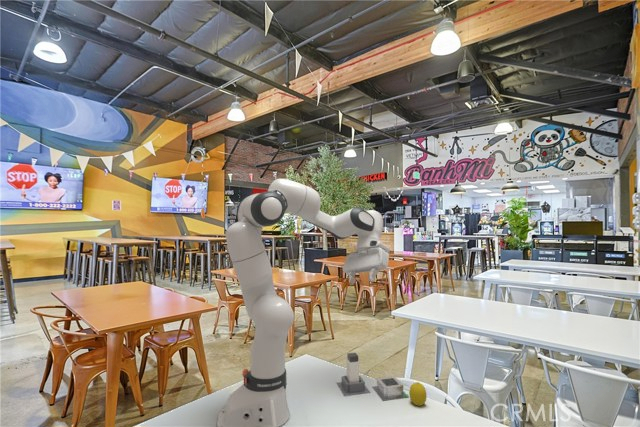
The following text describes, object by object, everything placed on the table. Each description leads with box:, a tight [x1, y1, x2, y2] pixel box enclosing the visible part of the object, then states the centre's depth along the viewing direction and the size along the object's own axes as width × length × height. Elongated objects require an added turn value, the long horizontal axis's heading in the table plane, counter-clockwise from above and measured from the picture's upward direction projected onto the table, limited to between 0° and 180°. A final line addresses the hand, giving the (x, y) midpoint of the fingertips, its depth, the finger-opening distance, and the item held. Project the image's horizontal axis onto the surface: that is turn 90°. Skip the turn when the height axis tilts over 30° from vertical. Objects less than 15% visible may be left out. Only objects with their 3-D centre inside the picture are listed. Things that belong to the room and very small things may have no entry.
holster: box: [336, 374, 371, 397], centre depth 118 cm, size 10×10×4 cm
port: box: [371, 376, 410, 402], centre depth 114 cm, size 10×10×4 cm
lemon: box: [408, 381, 427, 407], centre depth 107 cm, size 6×6×8 cm
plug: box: [346, 352, 360, 383], centre depth 118 cm, size 4×4×12 cm
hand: (360, 282), depth 116 cm, fingers open, 8 cm apart
